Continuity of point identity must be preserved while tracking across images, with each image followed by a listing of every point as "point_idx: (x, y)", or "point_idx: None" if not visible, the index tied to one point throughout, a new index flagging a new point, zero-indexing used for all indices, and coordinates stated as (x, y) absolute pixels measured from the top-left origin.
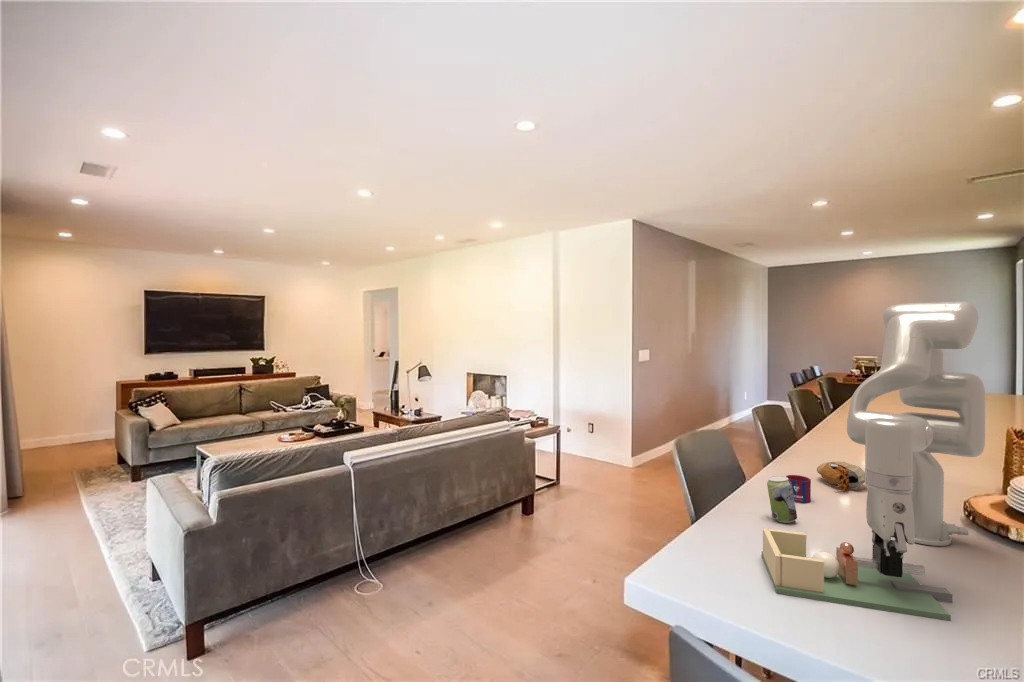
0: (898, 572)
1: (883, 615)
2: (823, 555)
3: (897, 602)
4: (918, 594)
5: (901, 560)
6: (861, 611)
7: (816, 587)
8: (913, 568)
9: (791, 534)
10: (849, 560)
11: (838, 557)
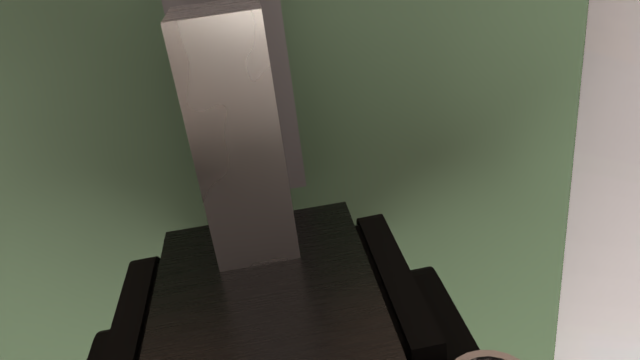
0: (435, 271)
1: (599, 261)
2: None
3: (509, 201)
4: (320, 40)
5: (434, 323)
6: (584, 340)
7: None
8: (278, 130)
9: None
10: None
11: None
